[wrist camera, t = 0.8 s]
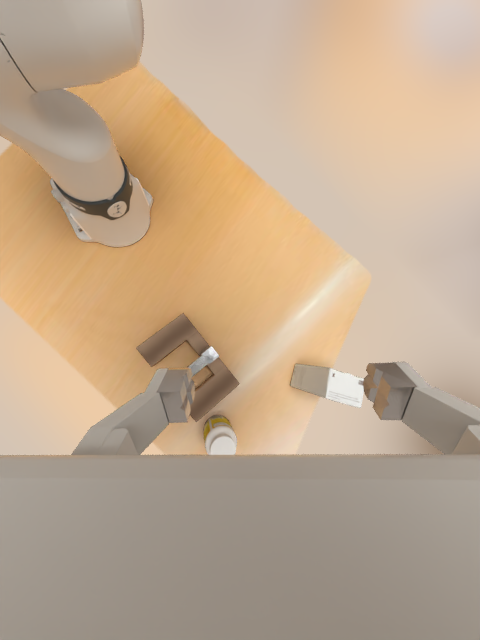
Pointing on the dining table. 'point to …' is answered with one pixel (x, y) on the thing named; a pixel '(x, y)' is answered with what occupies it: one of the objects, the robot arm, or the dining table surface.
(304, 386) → the skincare box
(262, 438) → the dining table surface
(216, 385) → the cutout shelf
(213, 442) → the pill bottle
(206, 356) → the hook arm
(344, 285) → the dining table surface
